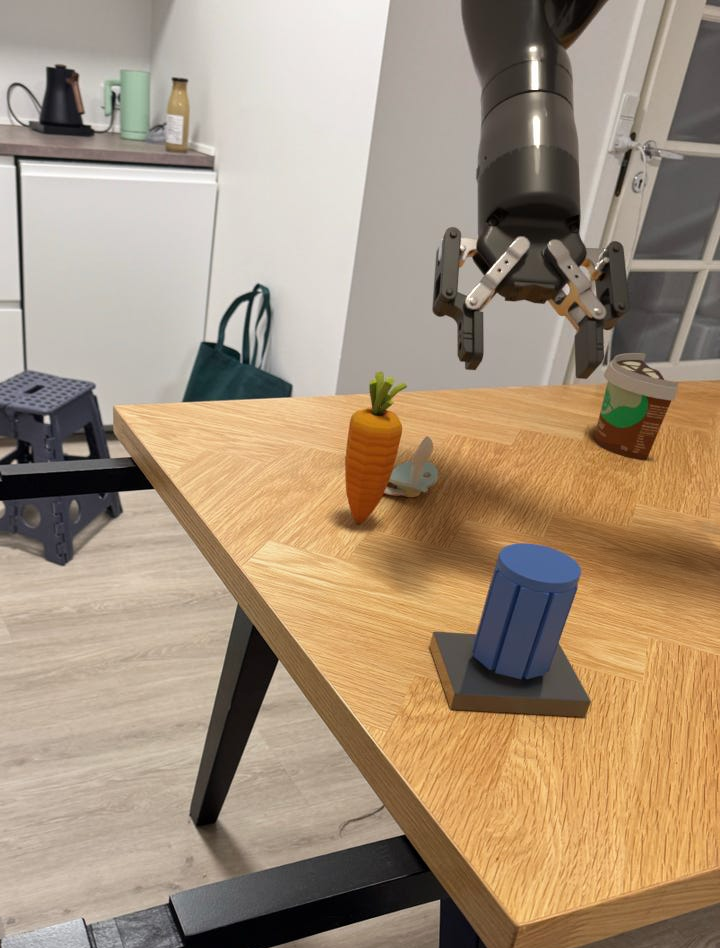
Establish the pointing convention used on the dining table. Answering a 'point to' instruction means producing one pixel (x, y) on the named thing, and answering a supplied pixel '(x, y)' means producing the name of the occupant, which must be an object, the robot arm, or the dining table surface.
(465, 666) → the peg stand
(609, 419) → the food container
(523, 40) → the robot arm
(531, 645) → the cap
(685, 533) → the dining table surface
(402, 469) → the pacifier
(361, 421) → the carrot
